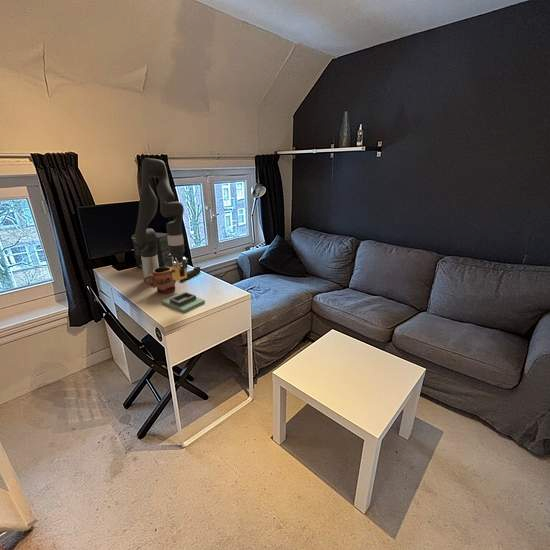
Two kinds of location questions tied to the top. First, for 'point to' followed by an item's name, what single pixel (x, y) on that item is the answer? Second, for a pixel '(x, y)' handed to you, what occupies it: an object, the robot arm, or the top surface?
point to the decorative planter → (161, 280)
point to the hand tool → (192, 273)
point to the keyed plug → (177, 273)
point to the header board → (183, 301)
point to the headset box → (161, 252)
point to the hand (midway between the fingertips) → (179, 275)
